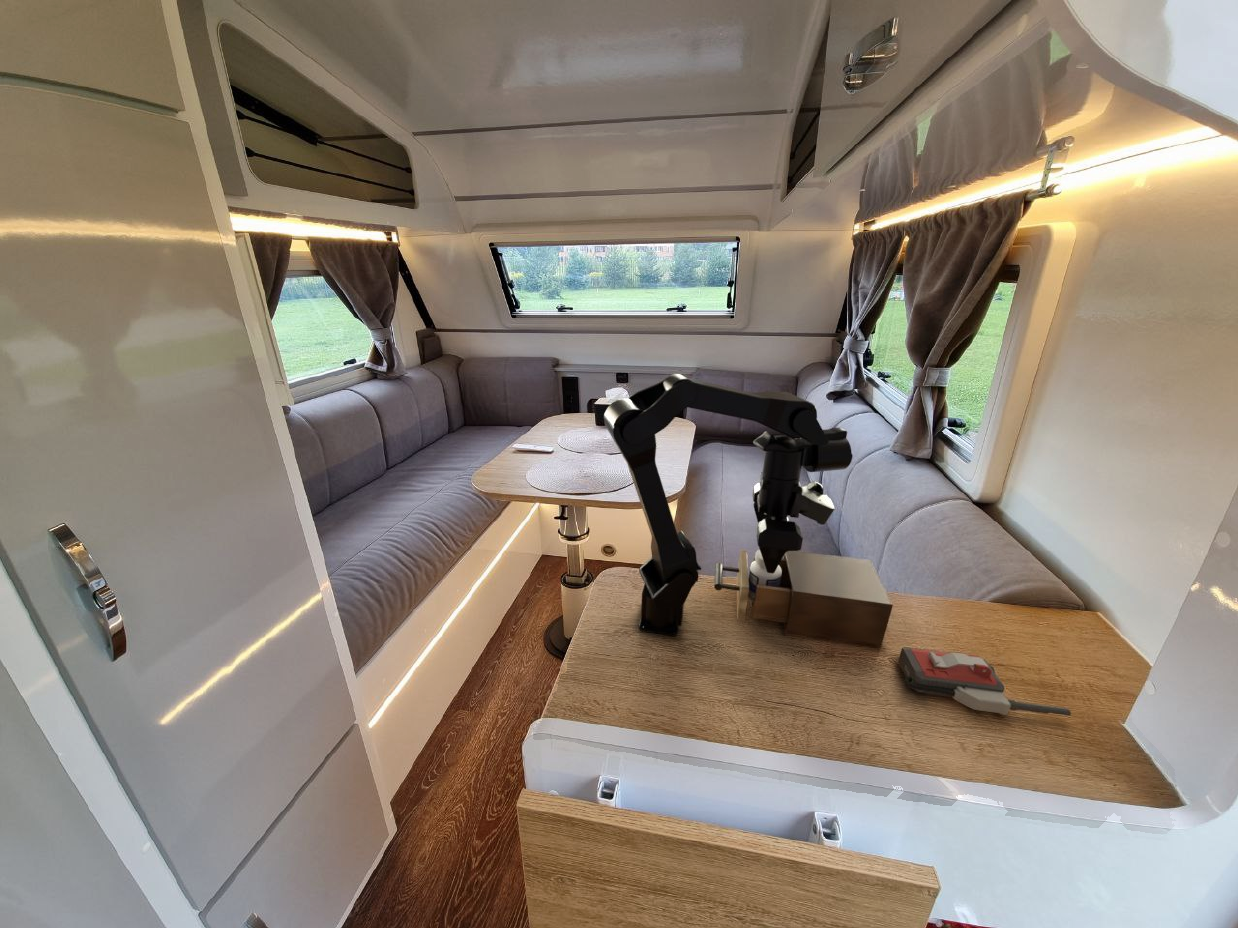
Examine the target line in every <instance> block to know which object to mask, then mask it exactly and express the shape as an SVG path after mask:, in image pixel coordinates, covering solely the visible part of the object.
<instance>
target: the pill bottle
mask: <svg viewBox="0 0 1238 928" xmlns="http://www.w3.org/2000/svg"><path fill="white" fill-rule="evenodd" d="M755 555H756V556H755V561H754V562H753V561H752V562H751V564H750V567H749V571H748V578H749V592H748V600H749V601H750V602H753V603H754V600H755V593H756V587H757V585H765V586H772V587H779V588H780V581H781V575H782V570H781V567H780V566H779V565H778V567H777V569H776V571H775V572H774V573H768V572H767V570H766V567H765V564H764V561H763V558H762V555H761V552H760V549H758V550H757V551H755Z"/></svg>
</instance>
